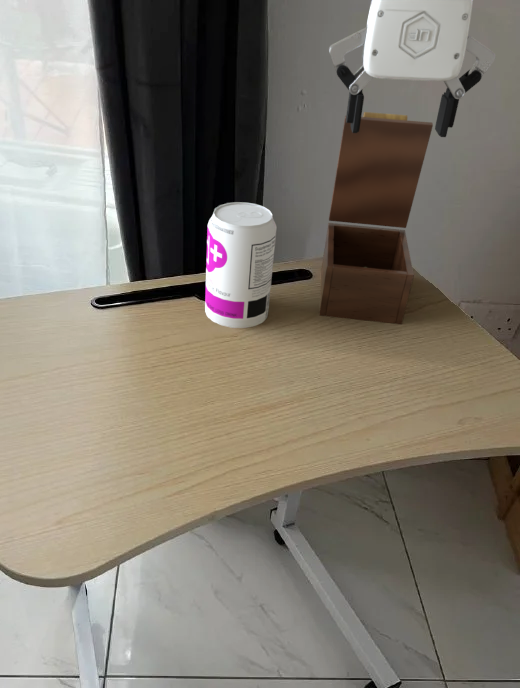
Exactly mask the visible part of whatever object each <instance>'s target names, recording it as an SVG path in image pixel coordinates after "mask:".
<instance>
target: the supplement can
mask: <svg viewBox="0 0 520 688" xmlns="http://www.w3.org/2000/svg"><path fill="white" fill-rule="evenodd" d="M277 228H278V227H277V224H276V222H275V219H274V217H273V213H272V211H271V210H270V209H269V208H267V207H266V206H263V205H260V204H257V203H251V202H243V201H242V202H240V201H234V202H226V203H224V204H219V205H218V206H217V207H215V208H214V209H213V212H212V215H211V217H210V218H209V220H208V223H207V230H206V231H207V233H206V235H207V236H206V263H205V265H206V267H205V297H204V298H205V299H204V300H205V301H204V312H205V315H206V317H207V318H208V319H209V320H211V322H213V323H215V324H217V325H219V326H221V327H227V328H231V329H247V328H252V327H256V326H258V325H260V324H262V323H264V322H265V321H266V319H267V318H268V315H269V308H270V299H271V298H270V297H271V290H272V289H271V288H272V279H273V278H272V277H273V269H274V257H275V247H276V238H277Z"/></svg>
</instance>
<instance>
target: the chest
mask: <svg viewBox="0 0 520 688" xmlns="http://www.w3.org/2000/svg"><path fill="white" fill-rule="evenodd" d="M326 229H327V230H326V236H325V241H324V248H323V256H322V263H321V269H320V271H321V273H320V291H319V292H320V293H319V312H318V313H319V316H321V317H330V318H339V319H346V320H347V319H348V320H358V321H366V322H377V323H384V324H395V325H403V320H404V316H405V313H406V310H407V309H406V308H407V306H408V300H409V297H410V293H411V288H412V285H413V281H414V276H415V274H414V268H413V264H412V259H411V254H410V247H409V243H408V237H407V234H406V229H400V228H399V229H398V228H388V227H379V226H368V225H356V224H347V223H338V222H337V223H336V222H335V223H334V222H328V223H327V228H326ZM365 267H367V268H365Z"/></svg>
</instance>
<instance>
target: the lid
mask: <svg viewBox="0 0 520 688" xmlns="http://www.w3.org/2000/svg"><path fill="white" fill-rule="evenodd" d="M362 114H363V116H361V122H360V129H359V132H357V133H352V130H351V123H346V115H345V116H344V120H343V126H342V127H343V128H342V132H341V139H340V146H339V151H338V158H337V165H336V170H335V177H334V183H333V190H332V196H331V202H330V209H329V214H328V221H329V222H337V223H346V224H347V223H349V224H359V225H367V226H368V225H369V226H370V225H371V226H378V227H379V226H380V227H391V228H399V229H400V228H401V229H406V228H407V226H408V222H409V218H410V215H411V211H412V207H413V203H414V200H415V195H416V193H417V188H418V185H419V180H420V176H421V173H422V169H423V164H424V161H425V156H426V153H427V149H428V145H429V142H430V138H431V134H432V130H433V127H434V124H433V123H434V122H431V121H419V120H408V115H407V114H399V113H398V114H396V113H384V112H372V111H364V112H363V113H362Z"/></svg>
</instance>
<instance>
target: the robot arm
mask: <svg viewBox="0 0 520 688" xmlns="http://www.w3.org/2000/svg"><path fill="white" fill-rule="evenodd" d="M473 1H474V0H371V1H370V5H369V11H368V16H367V21H366V26H365V27H364V28H362V29H360V30H357V31H356V32H354V33H352V34H350V35H348V36H345V37H344V38H342V39H340V40H337V41H336V42H334V43H331V44H330V45H329V47H328V52H329V56H330V58H331V61H332V64H333V67H334V70H335V73H336V76H337V77H338V78H339V79H340V81H341V82H342V84H343V85H344V86H345V87H346V89H347V90H348V92H349V93H348V101H347V107H346V109H347V110H346V115H345V116H346V123H351V130H352V133H357V132H359V129H360V122H361V117H362V114H363V107H364V101H365V95H364V93H363V89H364V88H365V87H367V85H368V84H369V83H370V82H371V81H372V80H373V79H374V78H375V79H381V80H397V81H398V80H399V81H400V80H401V81H419V82H422V81H423V82H443V84H444V85H445V87H446V90H445V91H444V92H443V93H442V94H441V98H440V102H439V107H438V112H437V116H436V121H435V126H434V130H435V131H436V134H437V135H438V136H439V137H440V138H447V135H448V131H449V129H450V128H453V127H454V124H455V120H456V116H457V110H458V108H459V102H460V100H461V99H463V97H464V96H465V94H466V93H467V92H468V91H470V90H471V89H472V88H473V87H475V86H476V85H477V84H478V83H479V82H481V80H482V78H483V75H484V74H486V72H487V71H488V70H489V68H490V67H491V66H492V64H493V63H494V62H495V60H496V57H497V54H496V53H495V52H494V51H493V50H491V49H490V48H488V47H487V46H486V45H484V44H483V43H482V42H480V41H479V40H477V39H475V38H474V37H473V36H471V35H470V34H469V31H470V25H471V18H472V11H473V3H474V2H473ZM361 46H362V50H361V63H362V65H360V67H359V68H358V69H357V70H356V71H355V72H354V73H353V72H352V71H351V69H350V68H349V67H348V65H347V62H346V60H345V56H346V54H349V52H352V51H354V50H355V49H358V48H360V47H361ZM466 51H467V52H468V53H469V54H471V55H473V56H474V57H475V61H474V63H473V65H472V67H471V68H470V69H468V70H467V71H466V72H465V73H463V74H462V75H461V76H459V75H460V73H461V71H462V67H463V64H464V60H465V55H466ZM458 76H459V77H458Z"/></svg>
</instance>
